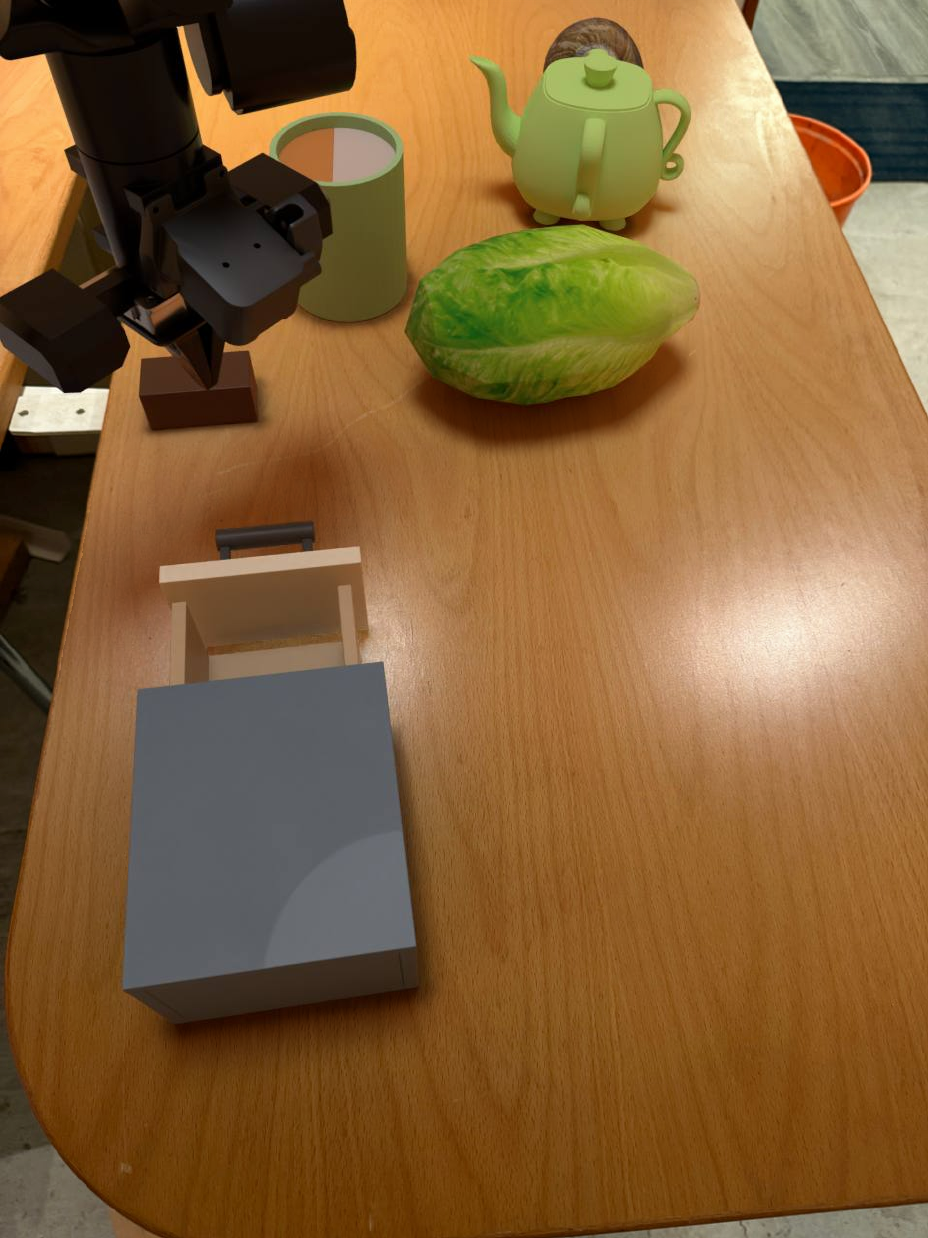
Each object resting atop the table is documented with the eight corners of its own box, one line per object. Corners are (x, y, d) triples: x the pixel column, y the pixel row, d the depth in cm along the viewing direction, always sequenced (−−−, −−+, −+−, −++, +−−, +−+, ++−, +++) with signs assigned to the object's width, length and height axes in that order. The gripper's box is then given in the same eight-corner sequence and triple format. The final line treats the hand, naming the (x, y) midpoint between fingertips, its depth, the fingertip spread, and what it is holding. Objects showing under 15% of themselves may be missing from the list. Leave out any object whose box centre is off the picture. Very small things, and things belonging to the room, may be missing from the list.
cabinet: (179, 761, 53) (137, 688, 46) (390, 735, 55) (383, 660, 47) (173, 1024, 46) (121, 990, 38) (419, 987, 47) (416, 946, 39)
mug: (405, 244, 81) (401, 108, 71) (408, 320, 75) (404, 185, 65) (265, 246, 80) (240, 109, 70) (257, 323, 75) (230, 187, 65)
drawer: (189, 578, 59) (161, 507, 53) (361, 561, 61) (353, 489, 55) (184, 837, 50) (150, 787, 44) (388, 810, 51) (382, 758, 45)
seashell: (550, 135, 92) (559, 51, 85) (530, 87, 97) (538, 4, 90) (656, 127, 93) (673, 44, 86) (631, 81, 98) (646, -1, 91)
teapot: (549, 271, 80) (567, 129, 69) (462, 190, 86) (466, 48, 75) (687, 215, 85) (723, 75, 74) (596, 142, 91) (617, 4, 80)
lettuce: (708, 414, 70) (753, 288, 61) (424, 458, 67) (422, 332, 57) (652, 309, 77) (684, 179, 67) (391, 344, 74) (385, 213, 64)
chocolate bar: (257, 421, 69) (250, 386, 66) (151, 430, 68) (138, 395, 65) (256, 384, 71) (249, 349, 68) (153, 393, 70) (140, 357, 67)
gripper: (78, 301, 35) (174, 544, 48) (398, 116, 43) (406, 367, 56) (-81, 189, 39) (48, 443, 52) (241, 38, 47) (283, 290, 60)
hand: (207, 384), depth 55 cm, fingers closed
